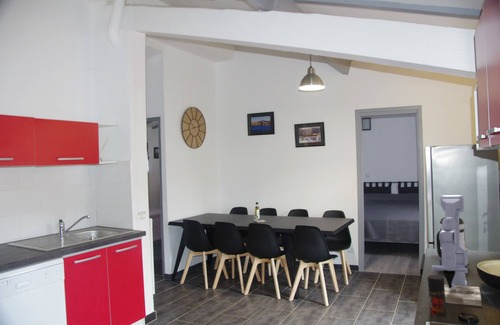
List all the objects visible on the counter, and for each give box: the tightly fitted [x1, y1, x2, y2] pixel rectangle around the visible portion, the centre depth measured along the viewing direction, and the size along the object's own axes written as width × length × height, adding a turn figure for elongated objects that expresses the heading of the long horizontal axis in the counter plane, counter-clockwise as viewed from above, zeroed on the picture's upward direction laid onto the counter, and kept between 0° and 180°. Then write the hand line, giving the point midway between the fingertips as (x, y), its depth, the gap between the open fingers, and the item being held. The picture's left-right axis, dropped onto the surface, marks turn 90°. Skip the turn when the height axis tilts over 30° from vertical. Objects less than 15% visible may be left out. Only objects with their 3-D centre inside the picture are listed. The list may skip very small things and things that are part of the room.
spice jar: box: [427, 274, 447, 318], centre depth 162 cm, size 6×6×15 cm
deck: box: [444, 284, 482, 307], centre depth 178 cm, size 18×17×2 cm
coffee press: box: [435, 217, 470, 266], centre depth 230 cm, size 17×16×30 cm
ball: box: [449, 284, 457, 292], centre depth 179 cm, size 3×3×3 cm
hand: (450, 287), depth 179 cm, fingers closed, pressing on ball
